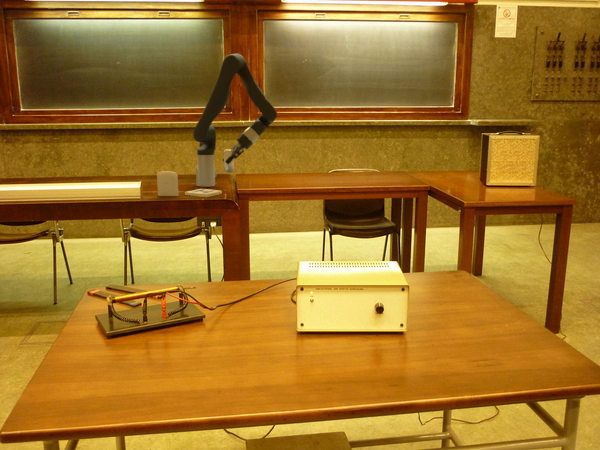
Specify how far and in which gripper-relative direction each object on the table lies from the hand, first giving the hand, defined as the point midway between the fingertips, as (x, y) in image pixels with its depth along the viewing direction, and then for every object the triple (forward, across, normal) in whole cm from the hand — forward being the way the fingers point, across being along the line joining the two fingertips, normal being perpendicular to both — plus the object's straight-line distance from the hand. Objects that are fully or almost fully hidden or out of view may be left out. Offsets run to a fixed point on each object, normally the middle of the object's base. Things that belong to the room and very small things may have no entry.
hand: (225, 162), depth 296 cm
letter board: (+19, +1, +3) cm, 20 cm away
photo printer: (+32, 0, -9) cm, 34 cm away
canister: (+2, 0, +5) cm, 5 cm away
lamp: (+8, -62, +15) cm, 64 cm away
